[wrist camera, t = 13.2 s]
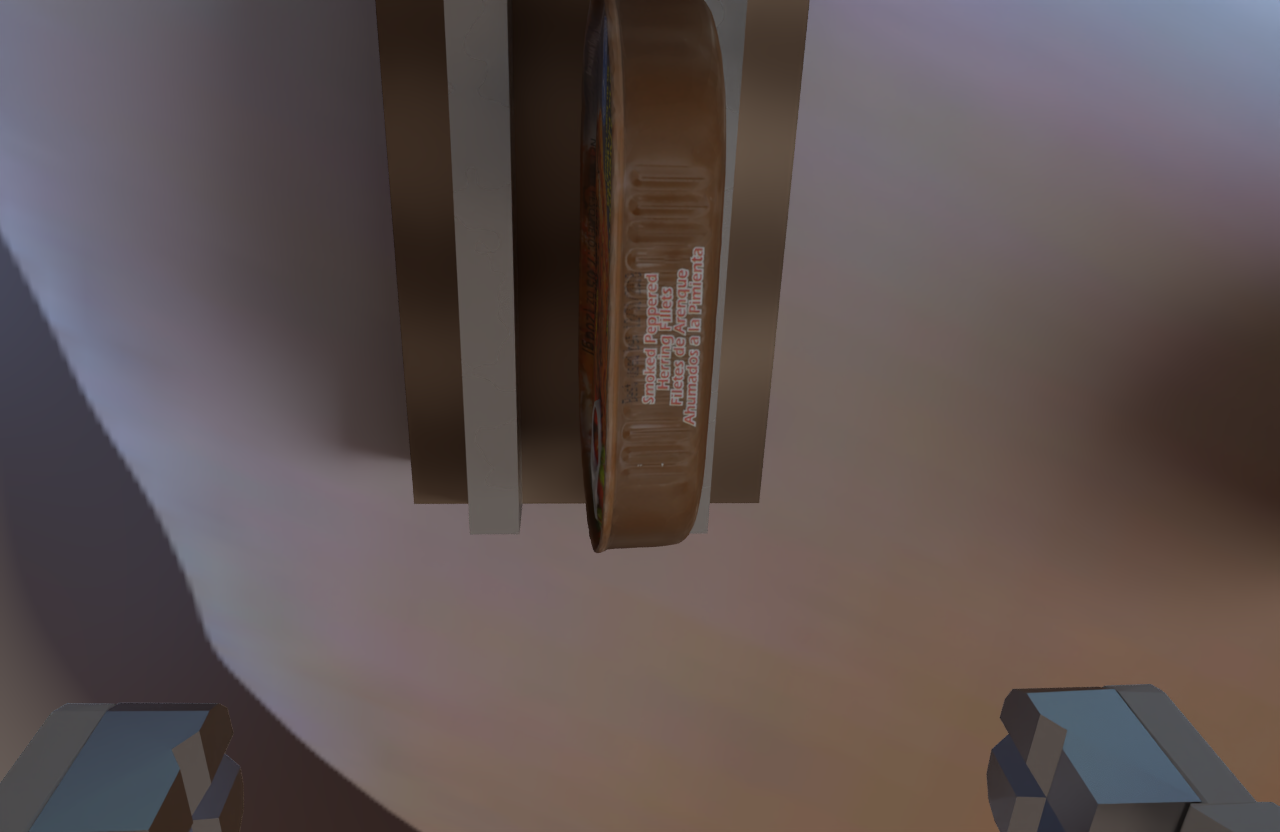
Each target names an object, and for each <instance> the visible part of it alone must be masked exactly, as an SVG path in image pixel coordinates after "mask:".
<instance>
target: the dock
mask: <svg viewBox="0 0 1280 832" xmlns="http://www.w3.org/2000/svg"><path fill="white" fill-rule="evenodd" d="M704 1H705V2H706V3H707V5H708V7H709V8H710V10H711V12H712V15H713V18H714V21H715V25H716V29H717V33H718V38H719V43H720V48H721V53H722V61H723V72H724V82H725V93H726V176H725V191H724V208H723V225H722V245H721V255H720V273H719V290H718V304H717V315H716V331H715V347H714V360H713V373H712V384H711V399H710V410H709V423H708V434H707V446H706V459H705V469H704V479H703V486H702V492H701V498H700V504H699V508H698V513H697V517H696V520H695V523H694V526H693V528H692V530H691V532H690V533H707V531H708V518H709V505H710V503H759V497H760V487H761V478H762V468H763V458H764V448H765V438H766V428H767V418H768V408H769V398H770V388H771V378H772V368H773V358H774V348H775V338H776V328H777V318H778V308H779V298H780V289H781V279H782V269H783V259H784V249H785V239H786V229H787V219H788V209H789V199H790V189H791V179H792V169H793V159H794V149H795V139H796V129H797V119H798V110H799V100H800V90H801V80H802V70H803V60H804V50H805V40H806V30H807V20H808V10H809V0H704ZM375 2H376V15H377V28H378V41H379V53H380V66H381V79H382V92H383V105H384V118H385V131H386V144H387V157H388V170H389V183H390V196H391V209H392V222H393V235H394V248H395V261H396V274H397V287H398V299H399V312H400V325H401V338H402V351H403V364H404V377H405V390H406V403H407V416H408V429H409V442H410V455H411V468H412V481H413V494H414V504H468V505H469V525H470V534H519V533H520V523H521V514H522V504H523V503H586V500H585V493H584V483H583V469H582V458H581V445H580V420H579V376H578V335H579V254H580V244H579V241H580V165H581V163H580V145H581V137H580V136H581V110H582V100H581V93H582V66H583V48H584V38H585V30H586V24H587V16H588V10H589V4H590V0H375Z"/></svg>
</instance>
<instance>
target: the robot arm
mask: <svg viewBox="0 0 1280 832" xmlns="http://www.w3.org/2000/svg"><path fill="white" fill-rule="evenodd" d="M1000 719H1001V721H1002V722H1003V724H1004V726H1005V728H1006V729H1007V731H1008V733H1009V734H1008V735H1007V736H1006V737H1005V738H1004V739H1003V740H1002V741H1000V742H999V743H998V744H997V745H996V746H995V747H994V748H993V749H992V750H991V755H990V760H989V764H988V769H987V786H988V799H989V803H990V807H991V810H992V813H993V817H994V820H995V822H996V824H997V827H998V829H999V831H1000V832H1280V807H1279V806H1278V805H1276V804H1274V803H1272V802H1256V801H1255V799H1254V798H1253V797H1252V796H1251V795H1250V793H1249V792H1248V791H1247V790H1246V789H1245V787H1244V786H1243V785H1242V784H1241V783H1240V782H1239V780H1238V779H1237V778H1236V777H1235V776H1234V774H1233V773H1232V772H1231V771H1230V770H1229V768H1228V767H1227V766H1226V765H1225V764H1224V763H1223V761H1222V760H1221V759H1220V758H1219V757H1218V755H1217V754H1216V753H1215V752H1214V751H1213V749H1212V748H1211V747H1210V746H1209V745H1208V744H1207V742H1206V741H1205V740H1204V739H1203V738H1202V736H1201V735H1200V734H1199V733H1198V732H1197V730H1196V729H1195V728H1194V727H1193V726H1192V725H1191V723H1190V722H1189V721H1188V720H1187V719H1186V717H1185V716H1184V715H1183V714H1182V713H1181V711H1180V710H1179V709H1178V708H1177V707H1176V706H1175V704H1174V703H1173V702H1172V701H1171V700H1170V698H1169V697H1168V696H1167V695H1166V694H1165V693H1164V692H1163V691H1162V690H1160V689H1158V688H1157V687H1155V686H1153V685H1151V684H1141V685H1113V686H1104V687H1066V688H1028V689H1012V691H1011V692H1010V693H1009V695H1008V696H1007V697H1006V698H1005V701H1004V704H1003V708H1002V711H1001V715H1000ZM232 736H233V729H232V725H231V721H230V716H229V713H228V708H226V707H225V706H223V705H221V704H219V703H118V704H68V703H67V704H65V705H63V706H62V707H60V708H58V709H57V710H55V711H53V712H52V713H51V714H50V715H49V717H48V718H47V720H46V721H45V722H44V724H43V725H42V726H41V728H40V729H39V730H38V732H37V733H36V735H35V736H34V737H33V739H32V740H31V741H30V743H29V744H28V746H27V747H26V748H25V750H24V751H23V752H22V754H21V755H20V757H19V758H18V759H17V761H16V762H15V764H14V765H13V766H12V768H11V769H10V770H9V772H8V773H7V775H6V776H5V777H4V779H3V780H2V781H1V783H0V832H240V827H241V821H242V816H243V810H244V785H243V779H242V774H241V768H240V766H239V765H238V764H237V763H235V762H234V761H233V760H232V759H231V758H230V757H228V756H227V755H226V754H225V751H226V749H227V747H228V744H229V742H230V740H231V738H232Z"/></svg>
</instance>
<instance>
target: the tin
mask: <svg viewBox="0 0 1280 832" xmlns="http://www.w3.org/2000/svg"><path fill="white" fill-rule="evenodd" d="M581 100H582V110H581V136H580V137H581V145H580V163H581V165H580V241H579V244H580V254H579V335H578V376H579V420H580V445H581V458H582V469H583V483H584V493H585V500H586V511H587V522H588V528H589V536H590V539H591V544H592V547H593V550H594V552H596V553H601V552H603V551H605V550H607V549H615V548H636V547H657V546H666V545H673V544H677V543H680V542H682V541H683V540H684V539H685V538H686V537H687V536H688V535H689V533H690V532H691V530H692V528H693V526H694V523H695V520H696V517H697V513H698V508H699V504H700V498H701V492H702V486H703V479H704V469H705V459H706V446H707V434H708V423H709V410H710V399H711V384H712V373H713V360H714V347H715V331H716V315H717V304H718V290H719V273H720V255H721V245H722V225H723V208H724V191H725V176H726V93H725V82H724V72H723V61H722V53H721V48H720V43H719V38H718V33H717V29H716V25H715V21H714V18H713V15H712V12H711V10H710V8H709V7H708V5H707V3H706V2H705V1H704V0H590V4H589V10H588V16H587V24H586V30H585V38H584V48H583V66H582V93H581Z"/></svg>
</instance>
